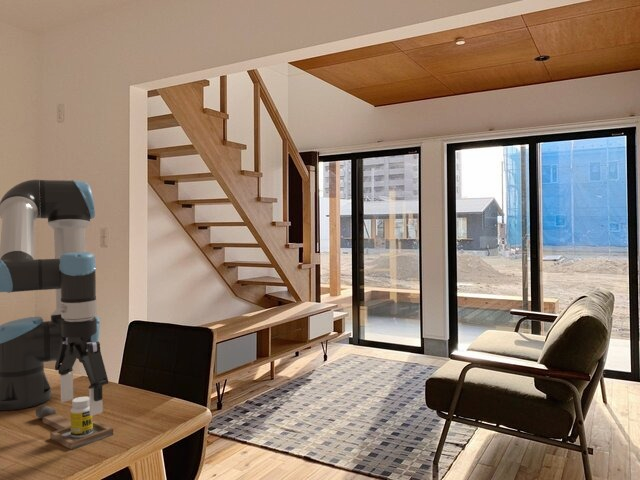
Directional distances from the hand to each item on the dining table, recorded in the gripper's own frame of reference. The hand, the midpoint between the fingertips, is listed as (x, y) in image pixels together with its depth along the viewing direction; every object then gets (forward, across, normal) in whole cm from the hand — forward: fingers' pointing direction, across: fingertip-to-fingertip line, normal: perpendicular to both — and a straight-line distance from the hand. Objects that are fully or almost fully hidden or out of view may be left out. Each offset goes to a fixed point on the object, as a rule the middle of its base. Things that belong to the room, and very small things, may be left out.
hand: (81, 406), depth 119 cm
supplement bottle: (+7, +1, 0) cm, 7 cm away
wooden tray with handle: (+7, -7, 0) cm, 10 cm away
